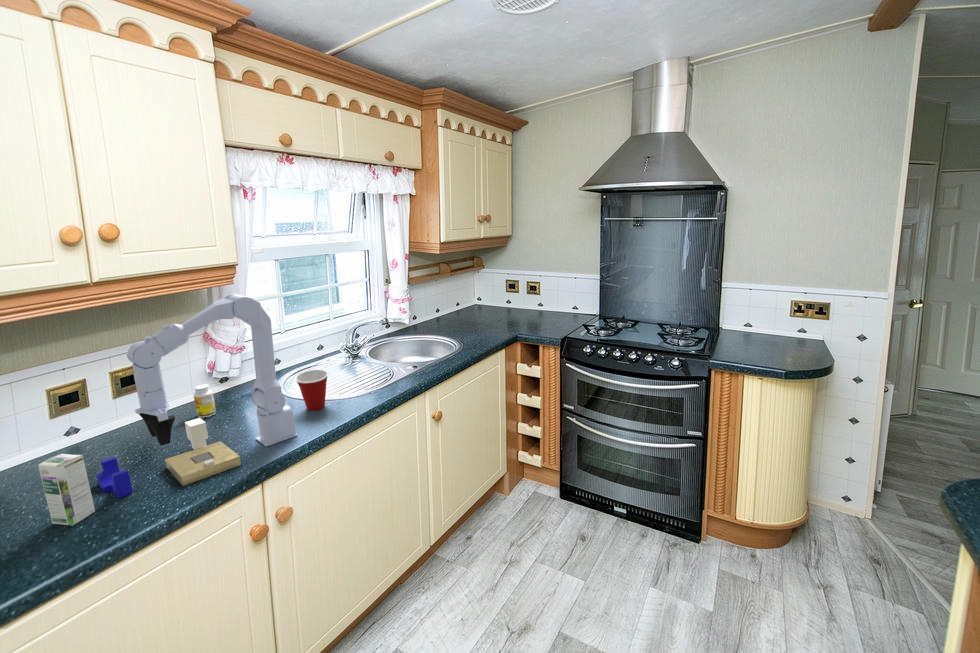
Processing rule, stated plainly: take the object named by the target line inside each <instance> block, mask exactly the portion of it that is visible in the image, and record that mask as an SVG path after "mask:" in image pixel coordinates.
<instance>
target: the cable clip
mask: <svg viewBox="0 0 980 653" xmlns="http://www.w3.org/2000/svg"><path fill="white" fill-rule="evenodd" d="M117 460H118V459H117V457H115V456H112V457H110V458H107V459H103V460H100V465H101V469H102V472H99V473H96V474H95V478H96V483H97V485H98V486H99V488H100V489H101V490H102V491H103V493H104V492H105V493H107V492H109V491H111V492H112V493H113V494H114V495H115V496H116V497H117V499H120V497H121V498H123V497H126V496H129V495H131V493H132V494H133V493H134V492H133V487H132V483H131V479H130V474H129V473H130V472H129V471H128V469H127V468H126V469H124V470H120V468H119V465H118V461H117ZM128 494H129V495H128Z"/></svg>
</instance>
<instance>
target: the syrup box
mask: <svg viewBox="0 0 980 653" xmlns="http://www.w3.org/2000/svg"><path fill="white" fill-rule="evenodd" d="M37 467H38V471H39V475H40V478H41V482H42V487H43V491H44V495H45V499H46V503H47V507H48V511H49V515H50V520H51V523H52V525H63V526H72V527H73V526H74V525H76V524H78V523H79V522H81V521H83V520H84V519H86V518H88V517H89V516H90V515H92V514H93V513H94V512H96V509H95V505H94V499H93V495H92V491H91V487H90V483H89V478H88V475H87V470H86V464H85V460H84V456H83V454H67V453H61V454H58V455H55V456H52V457H50V458H48V459H46V460H44V461H42V462H41V463H39V464H37Z"/></svg>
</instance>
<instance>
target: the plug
mask: <svg viewBox="0 0 980 653" xmlns="http://www.w3.org/2000/svg"><path fill="white" fill-rule="evenodd" d="M184 426H185V434H186V438H187V439H188V440H189V441H190V443H191V449H192V450H195V449H198V448H201V447H204V446H207V445H208V444H207V441H206V440H207V439H209V433H208V428H207V424H206V421H205V420H203V418H200V417H197V418H194V419H191V420H188V421H184Z"/></svg>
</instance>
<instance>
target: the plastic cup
mask: <svg viewBox="0 0 980 653" xmlns="http://www.w3.org/2000/svg"><path fill="white" fill-rule="evenodd" d="M328 376H329V372H328V371H327V370H325V369H310V370H305V371H302V372H300V373H298V374H297V375H296V376H295V377H294V380H295V382H297V384H298V387H299V389H300V393H301V396H302V398H303V401H304V405H305V408H306V410H307V411H311V412H312V411H314V412H315V411H320V410H322V409H324V408H325V405H326V393H327V382H328Z"/></svg>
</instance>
